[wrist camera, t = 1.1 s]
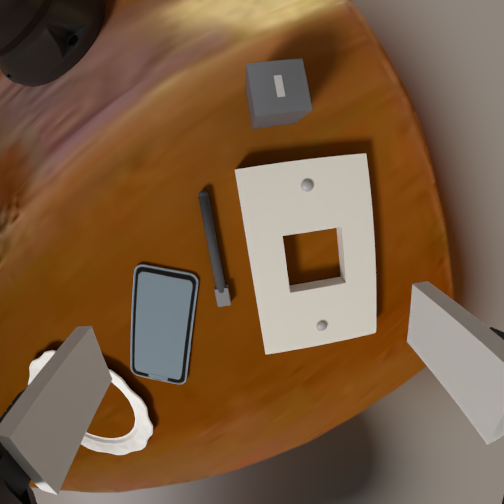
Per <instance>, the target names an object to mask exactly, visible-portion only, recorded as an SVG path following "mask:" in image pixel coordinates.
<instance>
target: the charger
mask: <svg viewBox="0 0 504 504" xmlns="http://www.w3.org/2000/svg"><path fill="white" fill-rule="evenodd" d="M245 89H246V95H247V101H248V107H249V113H250V119H251V125H252V129H257V128H264V127H271V126H279V125H288V124H296V123H297V122H298V121H299V120H301V119H302V118H303V117H304V116H306V115H307V114H308V113H309V112H310V111H312V105H311V99H310V94H309V89H308V84H307V78H306V73H305V69H304V64H303V59H288V60H277V61H267V62H258V63H250V64H246V84H245Z"/></svg>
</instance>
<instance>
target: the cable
mask: <svg viewBox="0 0 504 504" xmlns="http://www.w3.org/2000/svg"><path fill="white" fill-rule="evenodd" d="M199 201H200V207H201V212H202V218H203V223H204V228H205V233H206V239H207V244H208V249H209V254H210V259H211V264H212V269H213V274H214V279H215V283H216V287H215V289H214V290H215V295H216V300H217V304H218V307H221V306H228V305H231V298H230V293H229V288H228V285H225V280H224V275H223V270H222V265H221V260H220V254H219V249H218V244H217V238H216V233H215V228H214V222H213V217H212V211H211V206H210V200H209V194H208V192H207V191H204V190H203V191H201V192H200V193H199Z"/></svg>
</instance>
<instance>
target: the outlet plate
mask: <svg viewBox="0 0 504 504" xmlns="http://www.w3.org/2000/svg"><path fill="white" fill-rule="evenodd" d="M235 174H236V180H237V186H238V192H239V198H240V204H241V210H242V216H243V222H244V228H245V234H246V240H247V246H248V252H249V258H250V264H251V270H252V276H253V282H254V288H255V294H256V300H257V306H258V312H259V318H260V324H261V330H262V336H263V342H264V348H265V354H272V353H278V352H284V351H290V350H296V349H302V348H307V347H312V346H318V345H323V344H328V343H333V342H337V341H342V340H347V339H351V338H356V337H360V336H364V335H369V334H373V333H376V260H375V240H374V224H373V211H372V200H371V189H370V180H369V171H368V163H367V156H366V153H364V154H352V155H342V156H332V157H323V158H314V159H305V160H297V161H289V162H282V163H275V164H268V165H261V166H254V167H248V168H242V169H236V170H235ZM331 228H337V239H338V250H339V263H340V277H336V278H330V279H325V280H319V281H313V282H307V283H302V284H296V285H290V286H289V281H288V273H287V265H286V258H285V250H284V243H283V236H286V235H292V234H299V233H305V232H312V231H318V230H325V229H331Z"/></svg>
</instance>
